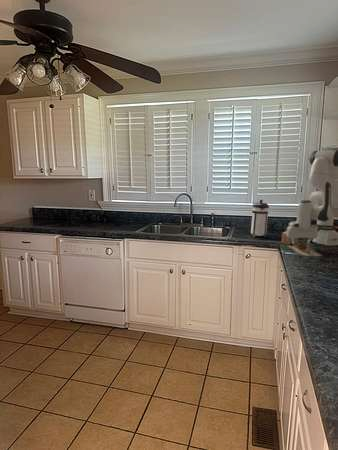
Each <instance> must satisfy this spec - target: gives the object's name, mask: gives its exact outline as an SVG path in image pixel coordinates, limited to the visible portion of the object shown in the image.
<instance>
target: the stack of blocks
mask: <svg viewBox="0 0 338 450" xmlns="http://www.w3.org/2000/svg"><path fill="white" fill-rule="evenodd" d="M288 227H289V225H288V226H286V230H285V231H284V232H282V233H281V240H280V244H284V245H291V244H292V242H293V241H292V239H291V238H289V237H287V236H286V233H287V228H288ZM294 241H299V238H295V239H294Z"/></svg>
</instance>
